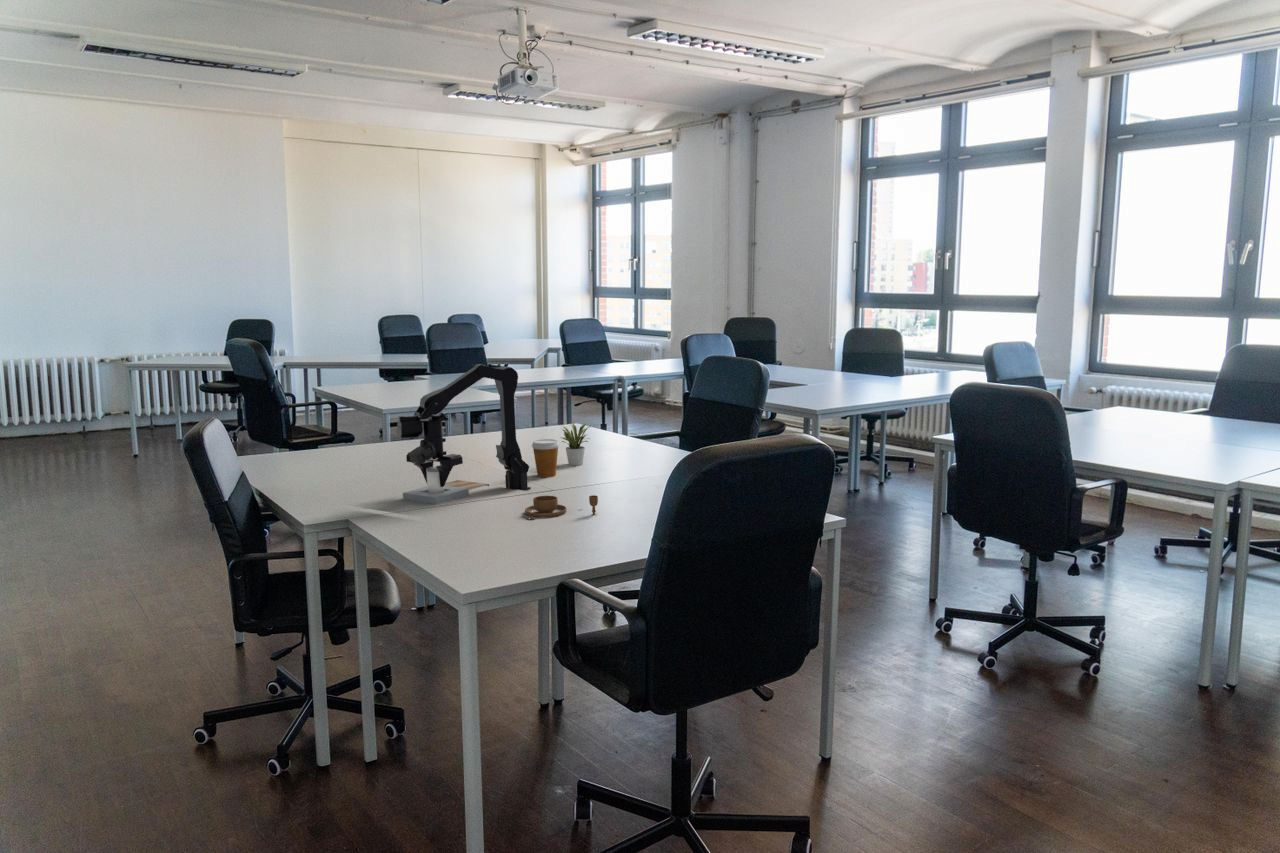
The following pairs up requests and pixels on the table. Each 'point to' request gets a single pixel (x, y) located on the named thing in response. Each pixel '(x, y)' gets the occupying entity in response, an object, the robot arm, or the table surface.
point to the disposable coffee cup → (546, 456)
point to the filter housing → (436, 495)
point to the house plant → (575, 444)
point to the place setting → (552, 506)
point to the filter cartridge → (433, 481)
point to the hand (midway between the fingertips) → (435, 485)
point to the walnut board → (465, 484)
